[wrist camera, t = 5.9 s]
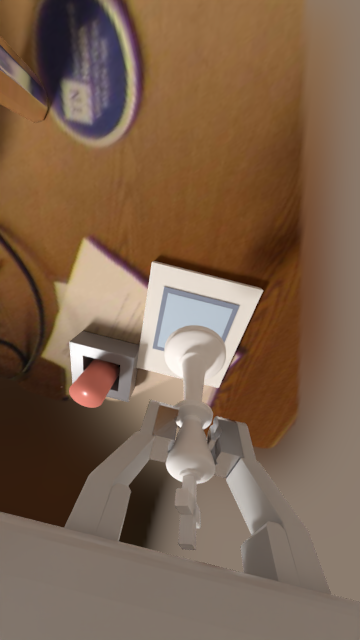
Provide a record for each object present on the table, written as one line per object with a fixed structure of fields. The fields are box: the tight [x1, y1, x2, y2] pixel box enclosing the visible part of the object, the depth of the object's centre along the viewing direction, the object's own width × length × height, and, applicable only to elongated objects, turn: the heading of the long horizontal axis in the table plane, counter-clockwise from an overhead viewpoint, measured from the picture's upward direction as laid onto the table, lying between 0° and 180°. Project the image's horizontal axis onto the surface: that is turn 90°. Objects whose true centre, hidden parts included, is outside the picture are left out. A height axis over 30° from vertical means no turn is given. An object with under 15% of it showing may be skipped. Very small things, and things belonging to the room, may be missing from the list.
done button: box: [69, 359, 119, 408], centre depth 25 cm, size 4×4×5 cm
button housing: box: [69, 331, 140, 402], centre depth 27 cm, size 9×9×3 cm
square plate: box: [136, 261, 263, 388], centre depth 24 cm, size 16×13×1 cm
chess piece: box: [164, 325, 226, 550], centre depth 10 cm, size 5×5×10 cm
